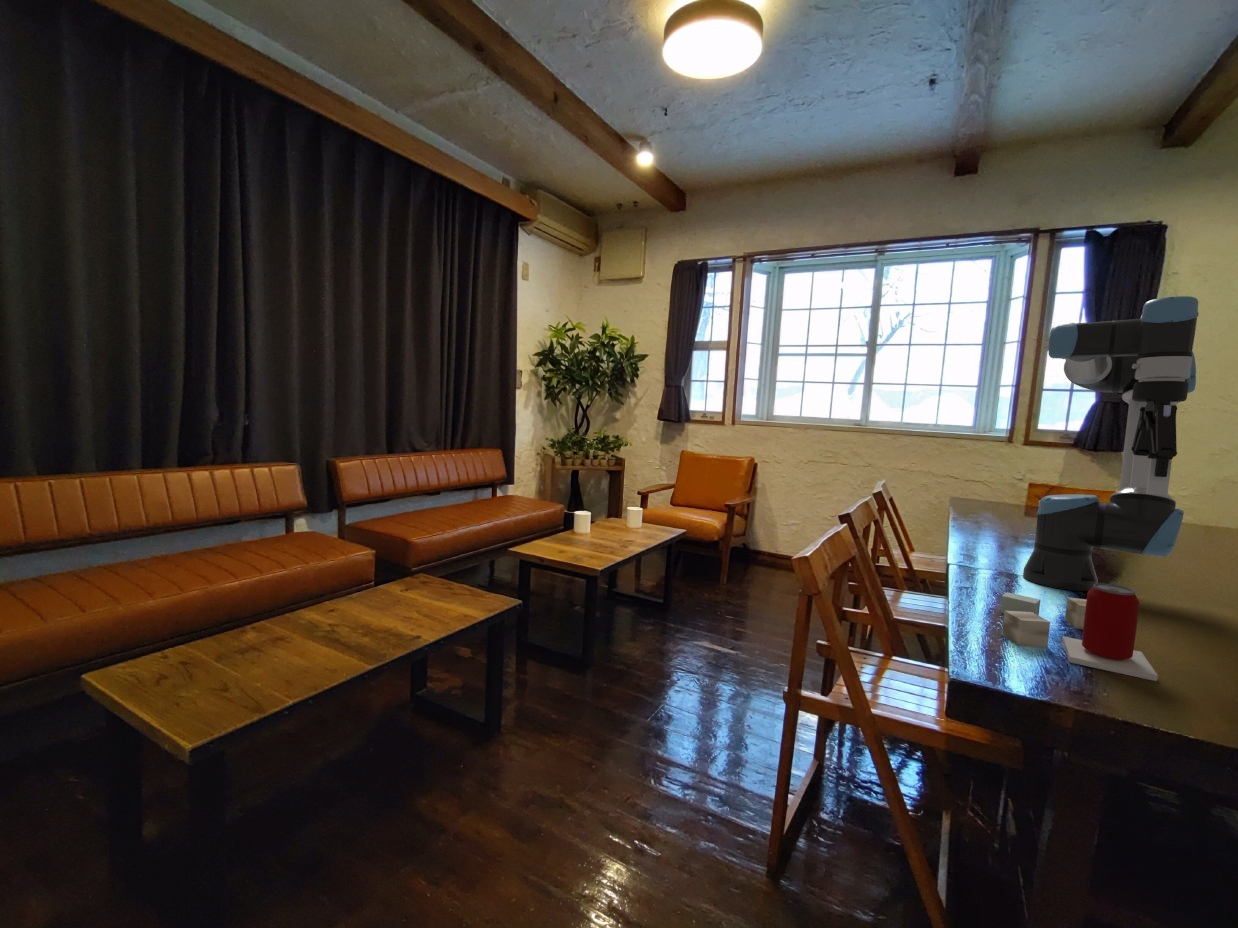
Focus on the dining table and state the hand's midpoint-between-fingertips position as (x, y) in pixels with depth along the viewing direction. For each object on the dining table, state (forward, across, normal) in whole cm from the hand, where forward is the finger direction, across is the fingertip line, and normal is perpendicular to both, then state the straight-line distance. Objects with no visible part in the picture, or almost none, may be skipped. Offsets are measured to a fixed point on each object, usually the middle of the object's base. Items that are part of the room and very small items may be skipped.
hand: (1147, 490), depth 106 cm
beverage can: (+28, +20, -6) cm, 35 cm away
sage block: (+29, +2, -18) cm, 34 cm away
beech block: (+29, +1, -7) cm, 30 cm away
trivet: (+29, +20, -6) cm, 36 cm away
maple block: (+29, +19, -18) cm, 39 cm away
